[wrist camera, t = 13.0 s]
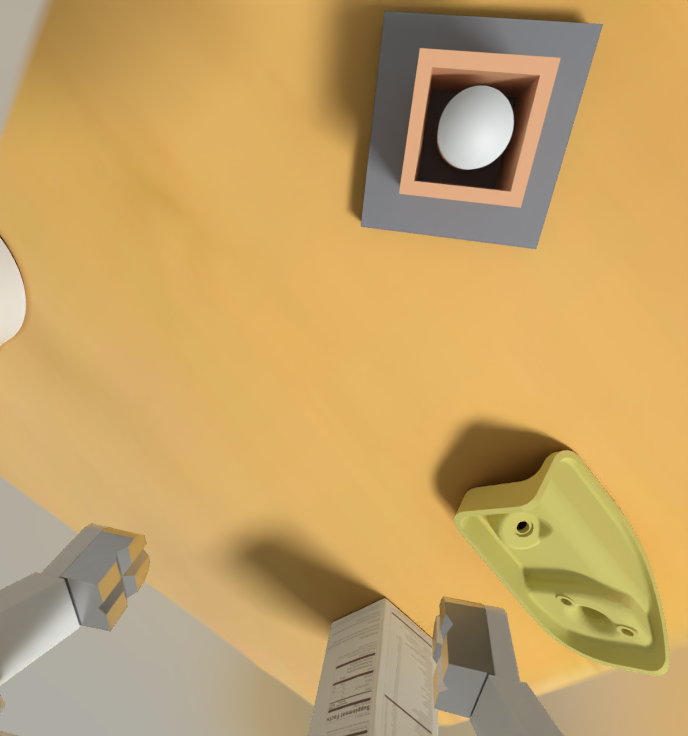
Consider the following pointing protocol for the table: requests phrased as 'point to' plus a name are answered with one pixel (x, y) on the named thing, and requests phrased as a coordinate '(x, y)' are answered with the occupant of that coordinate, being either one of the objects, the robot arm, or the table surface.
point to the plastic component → (571, 563)
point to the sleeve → (532, 92)
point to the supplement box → (376, 677)
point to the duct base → (430, 167)
